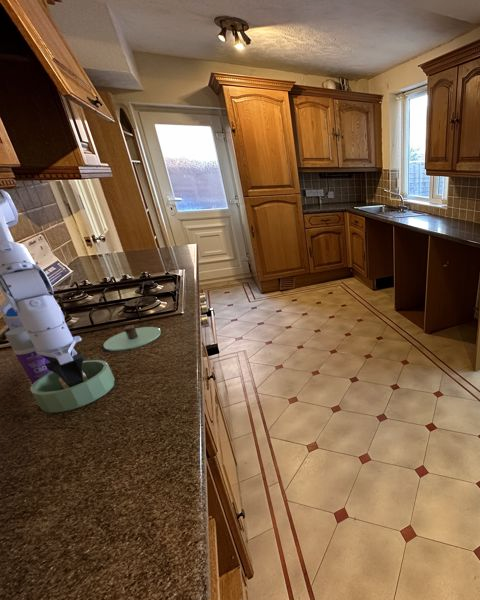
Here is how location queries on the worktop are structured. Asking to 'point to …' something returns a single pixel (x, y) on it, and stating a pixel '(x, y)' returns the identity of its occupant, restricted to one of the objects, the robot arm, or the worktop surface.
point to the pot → (73, 388)
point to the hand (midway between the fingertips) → (73, 379)
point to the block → (67, 385)
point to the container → (27, 354)
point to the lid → (132, 338)
